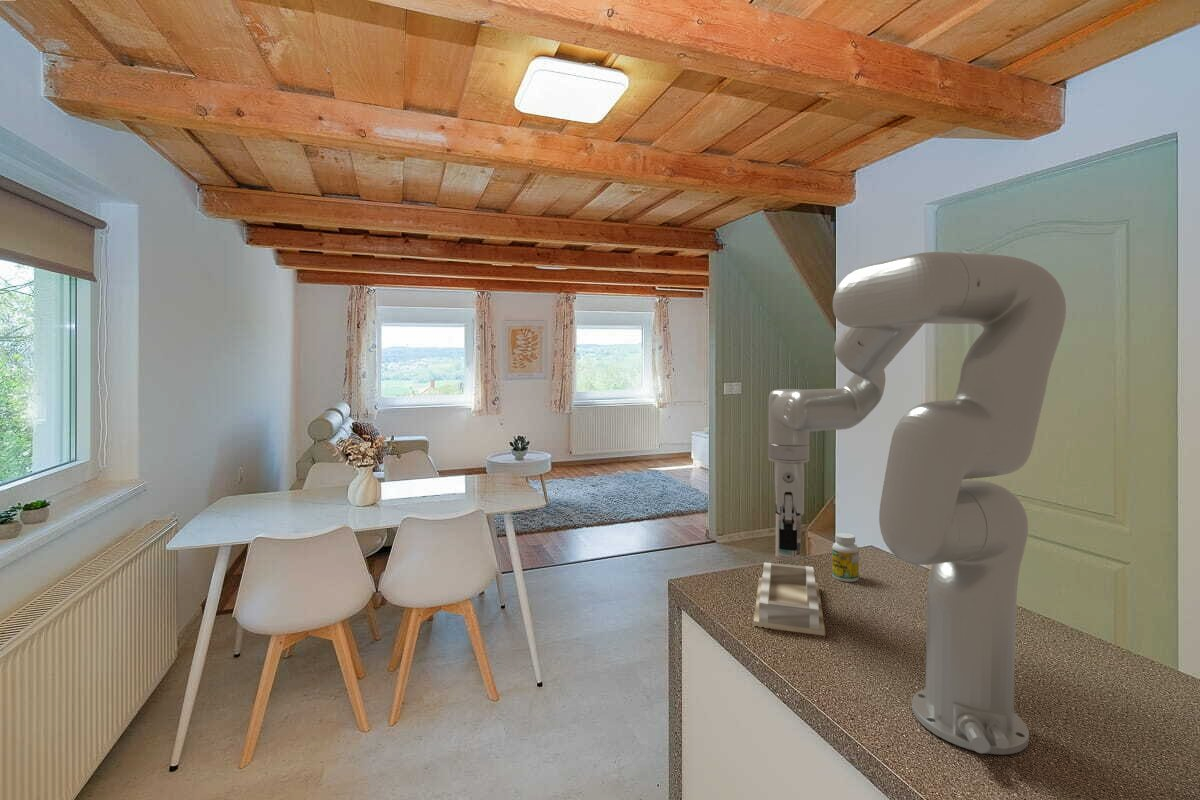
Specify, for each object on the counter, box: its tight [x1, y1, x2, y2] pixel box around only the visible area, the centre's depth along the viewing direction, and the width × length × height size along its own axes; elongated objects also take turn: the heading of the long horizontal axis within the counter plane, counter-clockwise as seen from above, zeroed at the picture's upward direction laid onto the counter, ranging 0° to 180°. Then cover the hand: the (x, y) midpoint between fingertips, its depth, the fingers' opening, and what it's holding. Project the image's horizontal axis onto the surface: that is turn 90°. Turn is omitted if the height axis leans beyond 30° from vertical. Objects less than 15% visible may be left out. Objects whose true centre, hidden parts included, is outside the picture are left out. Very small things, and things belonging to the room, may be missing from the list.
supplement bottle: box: [831, 532, 860, 583], centre depth 122 cm, size 5×5×10 cm
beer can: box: [774, 504, 802, 563], centre depth 107 cm, size 5×5×12 cm
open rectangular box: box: [752, 562, 826, 637], centre depth 108 cm, size 22×12×4 cm, turn 161°
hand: (788, 544), depth 107 cm, fingers closed on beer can, 4 cm apart
